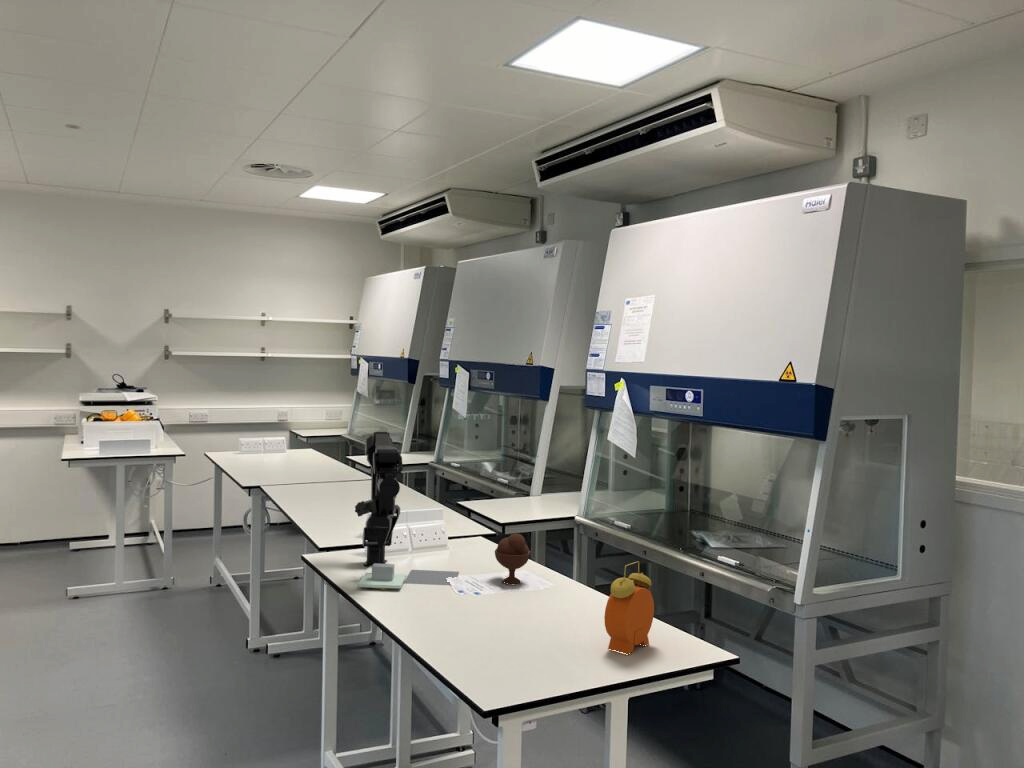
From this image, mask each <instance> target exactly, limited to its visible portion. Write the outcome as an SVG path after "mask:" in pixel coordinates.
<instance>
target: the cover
mask: <svg viewBox="0 0 1024 768" xmlns="http://www.w3.org/2000/svg"><path fill="white" fill-rule="evenodd" d="M406 578H407V573H395V564H394V563H385V564H377V563H374V564H373V565H371V572H365V573H364V575H362V578H361V580H360V581H359V583H358V584H357V587H358V588H372V589H376V588H389V589H401V588H402V587H403V584H404V581H405V580H406Z"/></svg>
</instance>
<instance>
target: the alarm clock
mask: <svg viewBox="0 0 1024 768" xmlns="http://www.w3.org/2000/svg"><path fill="white" fill-rule="evenodd" d="M636 563H638V565H637V566H638V567H637V568H638V569H637V572H632V573H630V575H629V576H628V577H626V571H627V566H630V565H634V564H636ZM623 574H624V575H623V577H619V578H616V579H615V580H614V581H612V583H611V585H610V595H609V596H608V599H607V602H606V606H605V610H604V615H603V616H604V617H603V618H604V627H605V631H606V633H607V635H608V636H609V637H610V639H609V643H608V648H607V650H608V649H611V650H616V651H619V652H623V653H626V654H629V653H631V652H632V653H633V652H634V649H635V646H640V645H639V644H641V645H644V646H645V645H647V644H649V645H650V641H649V636H648V635H649V632H651V631H650V630H651V628H652V624H653V621H654V615H655V602H654V598H653V594H652V592H651V591H650V590H649V589H648V588H652V580H651V578H649V577H648V576H647V575H645V574H644V572H640V561H635V562H632V563H629V564H626V565H625V566H624V573H623ZM644 646H643V647H644Z"/></svg>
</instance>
